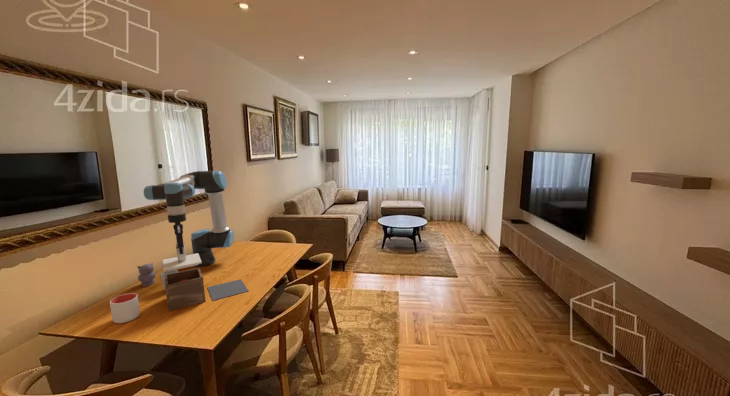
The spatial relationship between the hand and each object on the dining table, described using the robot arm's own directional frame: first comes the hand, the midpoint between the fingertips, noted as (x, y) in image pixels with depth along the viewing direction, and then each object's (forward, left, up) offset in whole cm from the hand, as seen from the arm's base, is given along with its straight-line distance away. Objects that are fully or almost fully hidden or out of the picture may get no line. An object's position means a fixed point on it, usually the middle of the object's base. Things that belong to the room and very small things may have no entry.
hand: (181, 258), depth 150 cm
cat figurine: (-36, -17, -23) cm, 46 cm away
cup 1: (+4, -24, -23) cm, 33 cm away
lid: (0, 0, -3) cm, 3 cm away
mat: (0, +20, -22) cm, 30 cm away
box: (0, 0, -22) cm, 22 cm away
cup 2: (-19, -6, -23) cm, 30 cm away
